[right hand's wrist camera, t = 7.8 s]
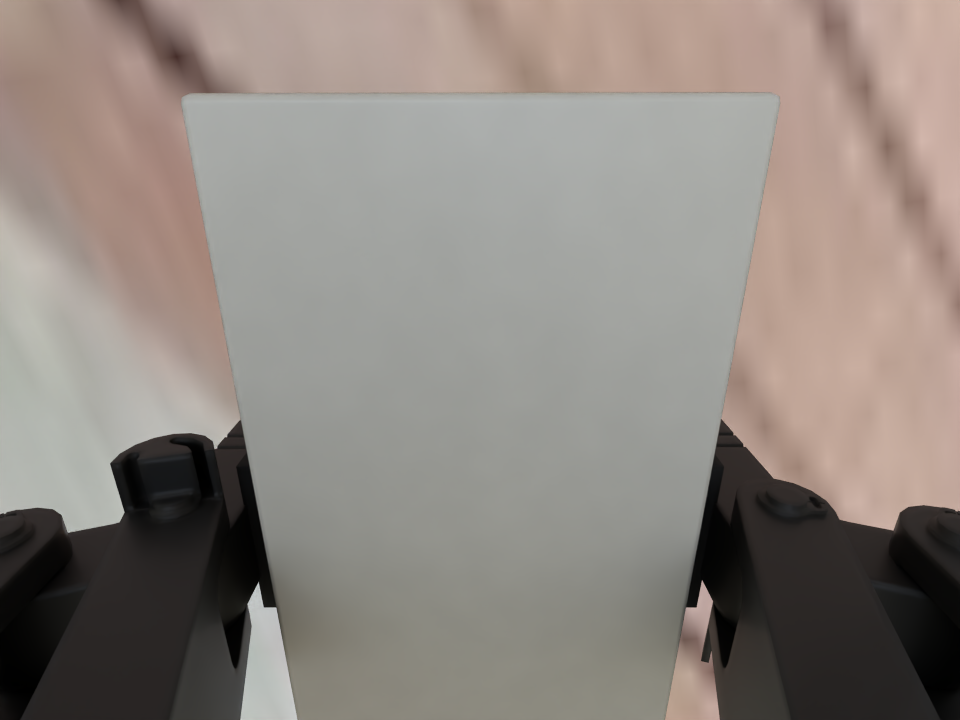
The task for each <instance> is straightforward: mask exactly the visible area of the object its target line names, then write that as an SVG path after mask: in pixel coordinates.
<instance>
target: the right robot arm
mask: <svg viewBox="0 0 960 720" xmlns="http://www.w3.org/2000/svg"><path fill="white" fill-rule="evenodd" d="M110 465H111V468H112V471H113V475H114V478H115V481H116V485H117V488H118V491H119V495H120V498H121V501H122V505H123V508H124V511H125V513H124V515H123V517H122V519H121V521H120V523H116V524H112V525H107V526H101V527H96V528H91V529H86V530H81V531H76V532H71V533H68V532H67V530H66V527H65V524H64V521H63V518H62V516H61V515H60V514H59V513H57V512H56V511H55V510H53V509H44V508H32V509H24V510H15V511H10V512H7V513H6V514H4V513H3V514H0V720H240V717H241V709H242V700H243V692H244V684H245V676H246V667H247V659H248V651H249V643H250V635H251V620H250V614H249V609H248V605H247V604H248V602H249V600H250V598H251V596H252V594H253V592H254V590H255V588H256V586H257V584H258V582H259V585H260V590H261V595H262V600H263V605H264V607H276V602H275V597H274V592H273V586H272V581H271V576H270V571H269V565H268V560H267V555H266V549H265V544H264V539H263V534H262V528H261V523H260V518H259V513H258V507H257V502H256V497H255V491H254V486H253V481H252V476H251V470H250V465H249V460H248V454H247V449H246V444H245V439H244V433H243V428H242V423H241V420H240V421H239V422H238V423H237V424H236V425H235V427H234V428H233V429H232V430H231V431H230V432H229V433H228V435H227V437H225V438H224V439H223V440H222V442H221V443H220V444H219V445H218V448H217V449H215V450H214V445H213V441H211V440H210V439H208V438H207V437H206V436H203V435H197V434H192V433H188V434H172V435H167V436H162V437H157V438H153V439H150V440H148V441H145V442H142V443H139V444H137V445H134V446H133V447H131V448H129V449H127V450H126V451H124V452H122V453H120V454H119V455H118V456H117V457H116V458H115V459H114V460H113V461H112V462H111V463H110ZM702 580H703V582H704V584H705V586H706V588H707V590H708V592H709V594H710V596H711V598H712V600H713V605H712V609H711V614H710V619H709V624H708V628H707V633H706V638H705V642H704V647H703V652H702V659H701V661H703V662H708V663H709V658H710V654H711V651H712V658H713V666H714V674H715V683H716V691H717V699H718V707H719V715H720V720H960V511H958V512H956V511H955V510H953V509H949V508H943V507H942V508H940V507H933V506H925V505H923V506H913V507H908V508H906V509H905V510H903V511H902V512H900V514H899V517H898V520H897V523H896V525H895V528H894V531H892V530H887V529H882V528H877V527H871V526H866V525H861V524H856V523H851V522H846V521H842V520H839V518H838V516H837V514H836V512H835V511H834V510H833V508H832V507H831V506H830V505H829V503H828V502H827V501H826V500H824V499H823V498H821V497H820V496H818V495H817V494H815V493H814V492H812V491H811V490H808V489H806V488H803V487H801V486H799V485H796V484H794V483H790V482H786V481H782V480H777V479H773V477H772V476H771V475H770V474H769V473H768V472H767V471H766V469H765V468H764V467H763V466H762V465H761V464H760V463H759V461H758V460H757V459H756V458H755V457H754V456H753V455H752V454H751V452H750V451H749V450H748V449H747V448H746V447H743V443H742V442H741V441H740V440H739V439H738V438H737V436H733V432H732V431H731V430H730V428H729V427H728V426H727V425H726V424H725V423H724V422H723V421H722V419H721V422H720V427H719V433H718V438H717V443H716V449H715V454H714V460H713V465H712V470H711V476H710V481H709V486H708V492H707V497H706V502H705V508H704V513H703V518H702V524H701V529H700V534H699V540H698V545H697V550H696V556H695V561H694V566H693V572H692V577H691V582H690V588H689V593H688V599H687V604H686V607H697V602H698V597H699V592H700V587H701V582H702Z"/></svg>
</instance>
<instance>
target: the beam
mask: <svg viewBox="0 0 960 720" xmlns="http://www.w3.org/2000/svg"><path fill="white" fill-rule="evenodd" d="M181 106H182V111H183V116H184V122H185V127H186V132H187V137H188V143H189V148H190V153H191V159H192V164H193V169H194V174H195V180H196V185H197V190H198V196H199V201H200V206H201V211H202V217H203V222H204V227H205V233H206V238H207V243H208V248H209V254H210V259H211V264H212V270H213V275H214V280H215V285H216V291H217V296H218V301H219V306H220V312H221V317H222V322H223V328H224V333H225V338H226V343H227V349H228V354H229V359H230V365H231V370H232V375H233V380H234V386H235V391H236V396H237V402H238V407H239V412H240V417H241V423H242V428H243V433H244V439H245V444H246V449H247V454H248V460H249V465H250V470H251V476H252V481H253V486H254V491H255V497H256V502H257V507H258V513H259V518H260V523H261V528H262V534H263V539H264V544H265V549H266V555H267V560H268V565H269V571H270V576H271V581H272V586H273V592H274V597H275V602H276V608H277V613H278V618H279V623H280V629H281V634H282V639H283V645H284V650H285V655H286V660H287V666H288V671H289V676H290V682H291V687H292V692H293V697H294V703H295V708H296V713H297V719H298V720H665V716H666V711H667V705H668V700H669V695H670V689H671V684H672V679H673V673H674V668H675V663H676V657H677V652H678V647H679V641H680V636H681V631H682V625H683V620H684V615H685V609H686V604H687V599H688V593H689V588H690V582H691V577H692V572H693V566H694V561H695V556H696V550H697V545H698V540H699V534H700V529H701V524H702V518H703V513H704V508H705V502H706V497H707V492H708V486H709V481H710V476H711V470H712V465H713V460H714V454H715V449H716V443H717V438H718V433H719V427H720V422H721V417H722V411H723V406H724V401H725V395H726V390H727V385H728V379H729V374H730V369H731V363H732V358H733V353H734V347H735V342H736V337H737V331H738V326H739V320H740V315H741V310H742V304H743V299H744V294H745V288H746V283H747V278H748V272H749V267H750V262H751V256H752V251H753V246H754V240H755V235H756V230H757V224H758V219H759V214H760V208H761V203H762V198H763V192H764V187H765V181H766V176H767V171H768V165H769V160H770V155H771V149H772V144H773V139H774V133H775V128H776V123H777V117H778V112H779V107H780V97H779V96H778V95H776V94H774V93H772V92H637V93H190V94H188V95H186V96H184V97H182V101H181Z"/></svg>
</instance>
